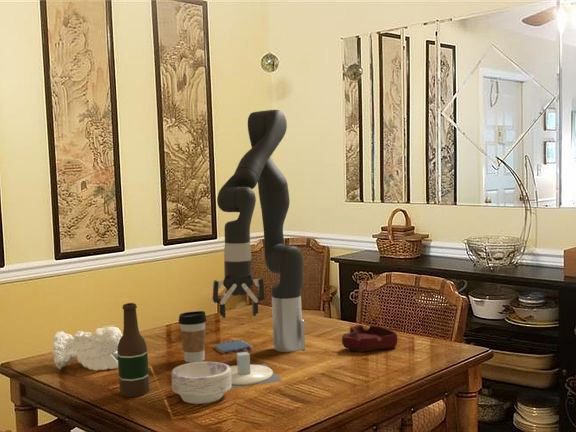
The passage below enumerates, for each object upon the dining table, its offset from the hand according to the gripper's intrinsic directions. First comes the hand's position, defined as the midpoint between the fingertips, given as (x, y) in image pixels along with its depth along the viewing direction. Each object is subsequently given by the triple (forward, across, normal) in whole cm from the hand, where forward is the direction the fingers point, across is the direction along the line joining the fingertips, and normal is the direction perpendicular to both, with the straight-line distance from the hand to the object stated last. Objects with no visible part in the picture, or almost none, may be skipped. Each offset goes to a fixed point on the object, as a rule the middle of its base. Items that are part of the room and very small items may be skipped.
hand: (238, 316), depth 197 cm
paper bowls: (+18, +12, +15) cm, 26 cm away
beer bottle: (+18, +29, +5) cm, 34 cm away
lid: (+16, -1, +1) cm, 17 cm away
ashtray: (+16, -44, -17) cm, 50 cm away
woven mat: (+17, -2, -29) cm, 34 cm away
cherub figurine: (+18, +42, -26) cm, 53 cm away
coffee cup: (+17, +11, -19) cm, 28 cm away
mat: (+17, -1, +1) cm, 17 cm away
